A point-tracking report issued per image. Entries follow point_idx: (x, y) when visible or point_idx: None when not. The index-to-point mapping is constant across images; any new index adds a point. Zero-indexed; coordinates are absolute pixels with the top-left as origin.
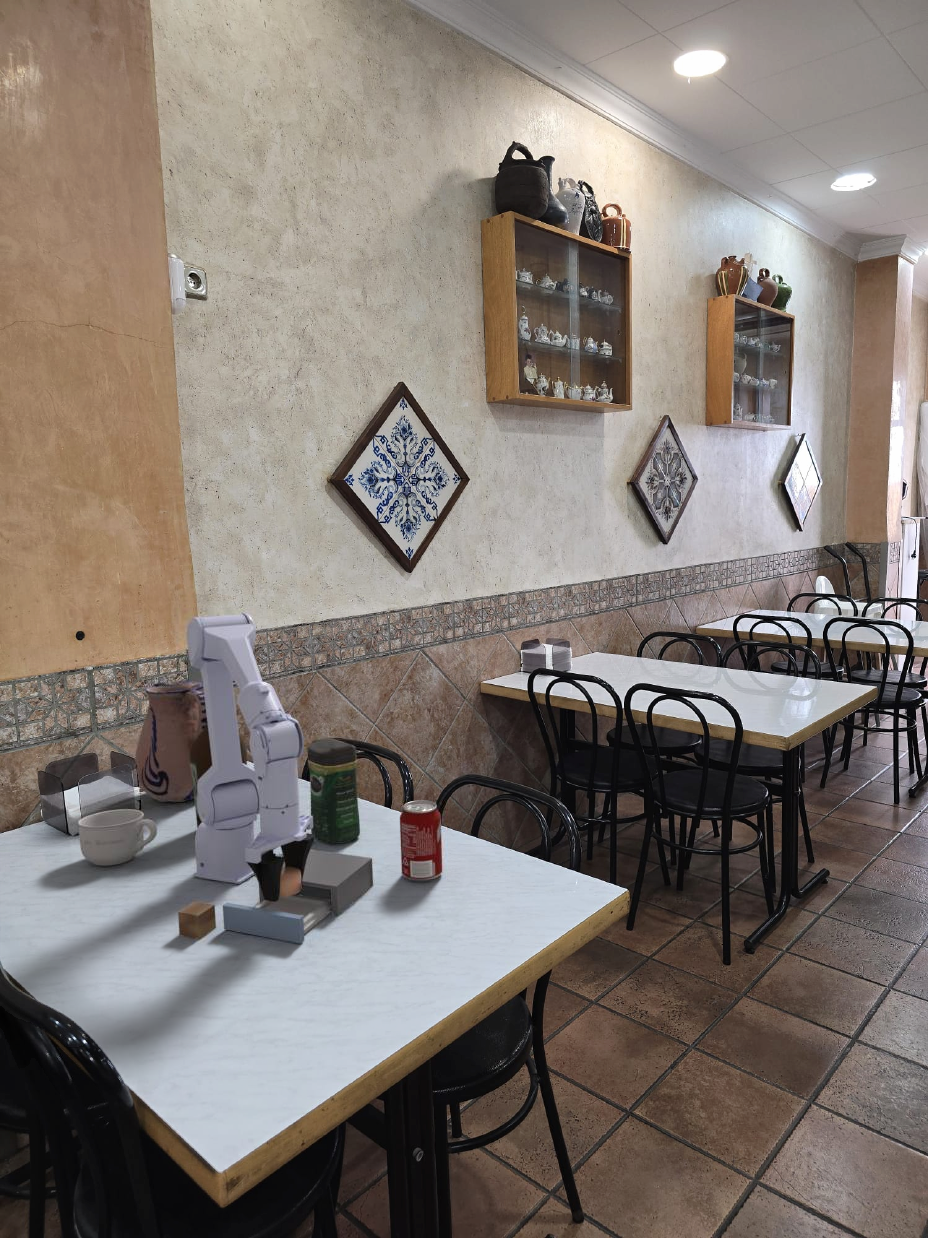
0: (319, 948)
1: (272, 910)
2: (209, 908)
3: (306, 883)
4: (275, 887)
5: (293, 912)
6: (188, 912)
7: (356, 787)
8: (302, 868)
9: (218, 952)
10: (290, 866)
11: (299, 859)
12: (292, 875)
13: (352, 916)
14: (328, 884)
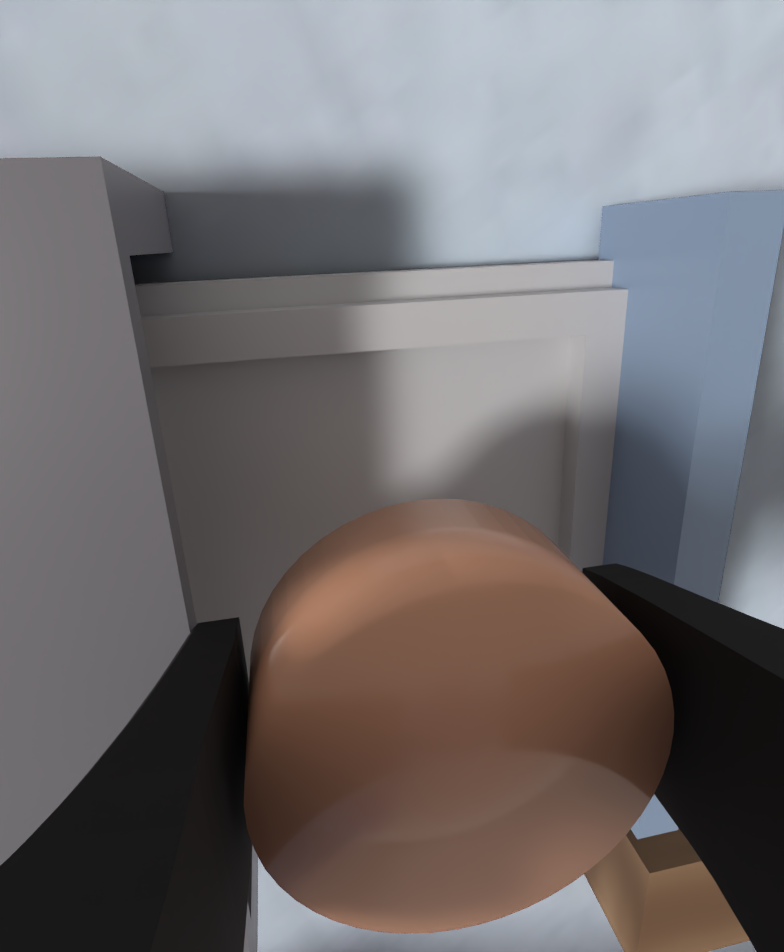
0: (651, 33)
1: (689, 512)
2: (690, 862)
3: (184, 574)
4: (751, 622)
5: (340, 507)
6: None
7: None
8: (199, 710)
9: (780, 584)
10: (238, 852)
11: (203, 854)
12: (468, 661)
13: (96, 50)
14: (108, 303)
